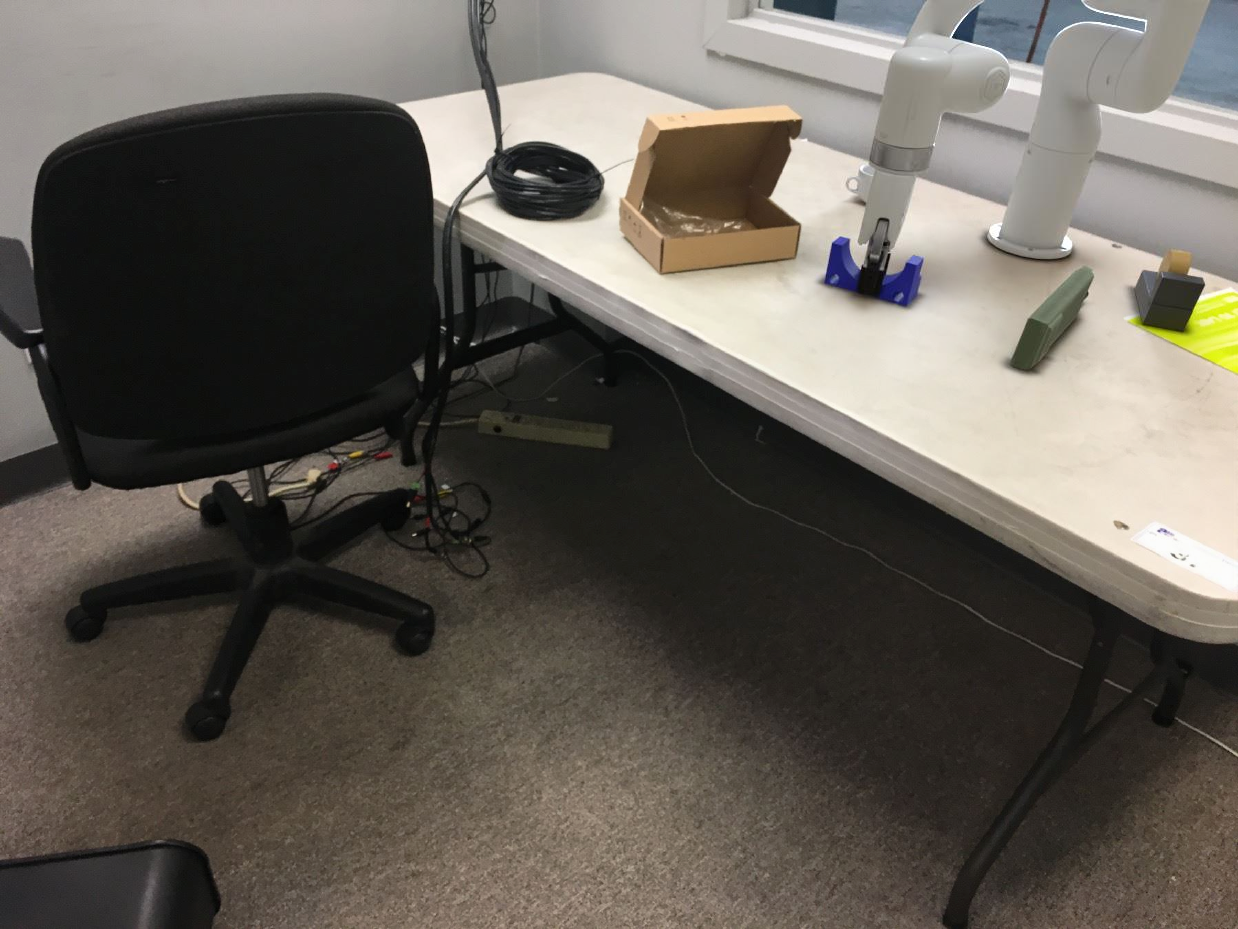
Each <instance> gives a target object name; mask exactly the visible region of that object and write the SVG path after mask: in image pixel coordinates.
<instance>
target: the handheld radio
mask: <svg viewBox="0 0 1238 929" xmlns="http://www.w3.org/2000/svg"><path fill="white" fill-rule="evenodd" d="M1093 271H1094V269H1093V268H1091V267H1088V266H1082V267H1080V268H1078V269H1076V270H1074V272H1072V273H1071V275H1070V276H1068V277H1067V278H1066V279H1065V280H1064V281H1063V282H1062V283H1061V284H1060V285H1059V286H1058V287H1057V288H1056V289H1055V290H1054V291H1053V292H1052V293H1051V294H1050V295H1049V296H1048V297H1047V298H1046V299H1045V300H1044V301H1043V302H1042V303H1041V304H1040V305H1039V307H1038V308H1037V309H1035V310H1034V312H1033V313H1032V314H1030V316H1029V317H1028V318H1027V320H1026V322H1025V325H1024V327H1023V330H1022V332H1021V335H1020V337H1019V340H1018V343H1017V345H1016V347H1015V350H1014V352H1013V354H1012V357H1011V360H1010V364H1011V366H1012V367H1014V368H1017V369H1020V370H1023V371H1029V370H1030V369H1032V367H1035V366H1036V365H1038V364H1039V363H1040V361H1041V360H1042V359H1043V358H1044V357H1045V356H1046V355H1047V353H1048V352H1049V351H1050V349H1051V346H1052V345H1053V344H1054V343H1055V342H1056V341H1057V340H1058V339H1059V337H1060V336H1061V335H1062V334H1063V333H1064V332H1065V330H1066V329H1067V328H1068V327H1069V326H1070V325H1071V324H1072V323H1073V322H1074V320H1075V319H1076V318H1077V316H1078V315H1079V312H1080V310H1081V307H1082V305H1083V303H1084V301H1085V300H1086V299H1087V298H1088V296H1089V294H1090V293H1089V290H1090V287H1091V285H1092V283H1093V280H1094V278H1095V274H1094V273H1093Z"/></svg>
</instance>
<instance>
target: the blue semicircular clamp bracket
mask: <svg viewBox="0 0 1238 929" xmlns="http://www.w3.org/2000/svg"><path fill="white" fill-rule="evenodd" d="M924 260H925V257H922V256H919V255H916V254H913V255H911V257H910V258H908V259H907V261H906V262H905V264H904V266H903V269H902V270H901V271H898V272H896V273H891V274H886V275H884V279H883V284H882V288H881V292H880V295H879V296H878V297H874V296H871V297H872V298H876V299H879V300H883V301H886V302H890V303H893V304H897V305H900V306H904V307H908V305H910V303H911V302H912V301H913V300H914V299H915V298H916V297H917V295H918V293H919V288H920V285H921V281H922V277H923V274H921V271H922V267H923V264H924ZM860 271H861V268H860V267H859V266H858V265H857V264H856V261H855V260H854V259H853V256H852V253H851V238H849V237H846V236H841V235H840V236H838V237H837V238H836V239H835V240H833V241H832V242H831V245H830V251H829V256H828V261H827V266H826V273H825V277H824V284H826V285H830V286H834V287H836V288H841V289H844V290H848V291H850V292H855V293H857V292H856V289H857V284H858V280H859V275H860ZM867 296H868V297H870V296H869V295H867Z"/></svg>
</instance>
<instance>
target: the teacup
mask: <svg viewBox="0 0 1238 929" xmlns="http://www.w3.org/2000/svg"><path fill="white" fill-rule="evenodd" d="M874 172H875V169H874V168H873V167H871V166H870V165H869V163H866V164H862V165H860V166H859V168H858V173H857V175H852V176H850V177H848V178H847V179H846V181H845V188H846V189H847V191H849V192H850V193H853V194H856V195H858V197H859V198H860V199H861V200H862V202H863V203H864V204H866V203H867V199H868V194H869V190H870V186H871V182H872V179H873V175H874ZM852 180H855V181H856V189H855V188H854V189H853V188H850V186H849V185H850V182H851V181H852Z"/></svg>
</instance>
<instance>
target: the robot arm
mask: <svg viewBox="0 0 1238 929" xmlns="http://www.w3.org/2000/svg"><path fill="white" fill-rule="evenodd" d="M985 1H986V0H925V1H924V3H923V5H922V7H921V8H920V10H919V12H918V14H917V16H916V18H915V20H914V22H913V24H912V26H911V28H910V30H909V32H908V34H907V36H906V39H905V41H904V43H903V46H902V48H899V49H897V50H896V51H895V52H894V53H893V55H892V56H891V58H890V61H889V64H888V69H887V73H886V79H885V82H884V87H883V92H882V97H881V101H880V107H879V111H878V116H877V121H876V124H875V125H876V126H875V129H874V135H873V140H872V144H871V148H870V154H869V159H868V164H869V165H870V166H871V167H873V168H874V169H875V172H874V175H873V179H872V182H871V186H870V190H869V194H868V199H867V203H865V208H864V212H863V215H862V216H863V217H862V222H861V226H860V230H859V234H858V238H857V244H858V245H859V246H862V245H867V248H866V251H865V257H864V261H863V264H861V266H860V270H861V271H860V275H859V280H858V284H857V289H856V292H855V293H857V294H860V295H864V296H868V295H869V296H868V297H872V296H874V297H873V298H875V297H878V296H879V295H880V292H881V288H882V284H883V279H884V275H887V272H888V268H889V264H890V260H891V255H892V253H890V252H891V250H893V249H894V248H895V246H896V244H897V241H898V238H899V237H900V235H901V232H902V228H903V227H904V223H905V220H906V217H907V214H908V211H909V207H910V204H911V200H912V196H913V194H914V193H913V192H914V189H915V186H916V180H917V176H920V175H925V174H926V173H928V172H929V169H930V164H931V161H932V157H933V152H934V148H935V144H936V141H937V137H938V133H939V129H940V125H941V121H942V117H943V115H944V114H945V113H959V114H977V113H982V112H984V111H987V110H989V109H990V108H992V107H994V106H995V105H996V104H997V103H998V102H999V101H1001V99H1002V98H1003V97H1004V95H1005V94H1006V92H1007V91H1008V88H1009V85H1010V82H1011V76H1012V72H1011V67H1010V63H1009V61H1008V59H1007V58H1006V57H1005V56H1004V55H1003V54H1002V53H1000V52H999V51H997V50H995V49H994V48H990V47H986V46H982V45H980V44H975V43H971V42H969V41H965V40H961V39H958V38H957V39H956V38H953V35H954V33H955V31H956V30H957V28H958V27H959V25H960V24H961V22H962V21H963V20H964V19H965V18H966V16H967V15H968V14H970V12H972V11H973V10H974V9H975V8H976V7H978V6H980V4H982V3H983V2H985ZM1081 2H1082V4H1083V5H1084V6H1085V7H1086V8H1088V9H1090V10H1093V11H1095V12H1098V13H1103V14H1107V15H1112V16H1118V17H1122V18H1127V19H1132V20H1136V21H1142V22H1145V28H1144V31H1140V30H1136V29H1131V28H1128V27H1124V26H1118V25H1112V24H1108V23H1103V22H1096V21H1083V22H1077V23H1074V24H1071V25H1069V26H1067V27H1065V28H1063V30H1061V31H1060V32H1058V34H1057V35H1056V36H1055V37H1054V38H1053V40H1052V42H1050V45H1049V47H1048V49H1047V52H1046V55H1045V58H1044V62H1043V67H1042V68H1043V69H1042V78H1041V87H1040V93H1039V94H1040V95H1039V99H1038V104H1037V107H1036V112H1035V115H1034V119H1033V122H1032V126H1031V129H1030V132H1029V136H1028V139H1027V141H1026V145H1025V148H1024V151H1023V154H1022V158H1021V161H1020V164H1019V166H1018V169H1017V174H1016V177H1015V180H1014V183H1013V185H1012V190H1011V192H1010V195H1009V199H1008V202H1007V205H1006V209H1005V212H1004V215H1003V218H1002V222H1000V223H996V224H994V225H992V226H991V227H989V229H988V233H987V239H988V242H990V243H991V244H992V245H993V246H994V247H996V248H998V249H1000V250H1001V251H1004V252H1007V253H1010V254H1012V255H1015V256H1019V257H1025V258H1029V259H1038V260H1055V259H1061V258H1065V257H1068V256H1069V255H1070V254H1071V253H1072V250H1073V248H1074V243H1073V241H1072V239H1070V238H1069V237H1068V236H1067V233H1068V230H1069V228H1070V224H1071V221H1072V219H1073V216H1074V213H1075V210H1076V208H1077V206H1078V202H1079V200H1080V196H1081V194H1082V191H1083V188H1084V186H1085V184H1086V181H1087V177H1088V174H1089V172H1090V169H1091V167H1092V163H1093V160H1094V158H1095V155H1096V152H1097V150H1098V148H1099V145H1100V142H1101V139H1102V135H1103V117H1102V110H1101V106H1105V107H1108V108H1112V109H1115V110H1119V111H1123V112H1127V113H1131V114H1137V115H1138V114H1143V115H1144V114H1149V113H1152V112H1154V111H1156V110H1158V109H1159V108H1160V107H1161V106H1163V105H1164V104H1165V103H1166V102H1167V101H1168V99H1169V98H1170V96H1171V95H1172V94H1173V92H1174V90H1175V88H1176V86H1177V85H1178V82H1179V81H1180V78H1181V76H1182V74H1183V71H1184V68H1185V66H1186V63H1187V61H1188V59H1189V57H1190V54H1191V51H1192V49H1193V45H1194V43H1195V41H1196V39H1197V35H1198V34H1199V31H1200V28H1201V25H1202V24H1203V21H1204V18H1205V15H1206V13H1207V9H1208V7H1209V5H1210V2H1211V0H1081Z"/></svg>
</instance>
